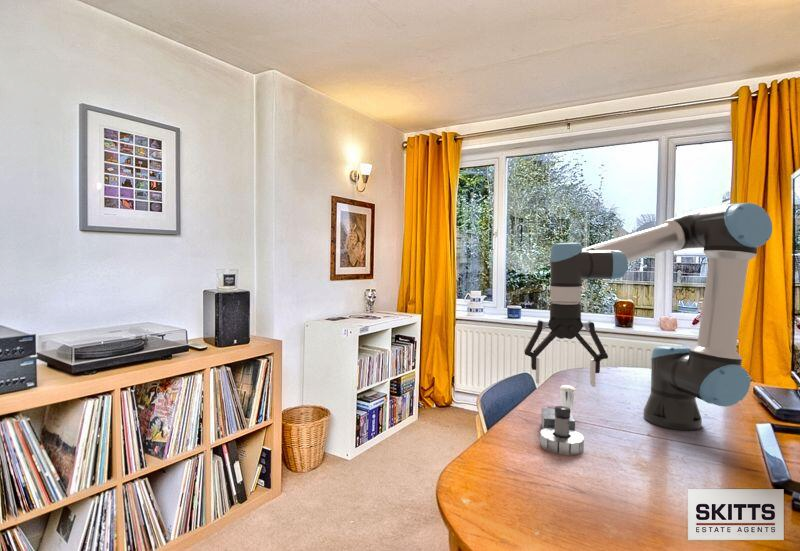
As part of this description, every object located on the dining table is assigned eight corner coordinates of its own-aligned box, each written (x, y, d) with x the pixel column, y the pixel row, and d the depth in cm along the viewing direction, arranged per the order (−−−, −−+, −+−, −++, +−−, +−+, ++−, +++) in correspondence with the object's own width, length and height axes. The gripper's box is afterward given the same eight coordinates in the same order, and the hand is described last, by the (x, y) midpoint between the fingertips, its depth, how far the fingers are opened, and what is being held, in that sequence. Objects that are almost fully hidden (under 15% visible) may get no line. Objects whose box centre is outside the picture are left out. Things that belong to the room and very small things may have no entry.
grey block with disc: (573, 424, 131) (573, 408, 131) (586, 457, 109) (586, 437, 109) (536, 421, 133) (536, 405, 133) (542, 452, 112) (542, 432, 112)
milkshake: (578, 417, 137) (579, 385, 137) (560, 415, 138) (561, 384, 138) (575, 412, 142) (576, 381, 141) (558, 411, 143) (559, 380, 142)
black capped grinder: (570, 449, 114) (571, 411, 113) (554, 448, 114) (555, 410, 114) (568, 443, 117) (569, 406, 117) (553, 442, 118) (554, 405, 118)
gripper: (614, 301, 115) (613, 382, 116) (515, 300, 121) (515, 377, 122) (621, 305, 108) (620, 391, 109) (515, 303, 114) (515, 384, 114)
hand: (564, 383), depth 115 cm, fingers open, 13 cm apart
